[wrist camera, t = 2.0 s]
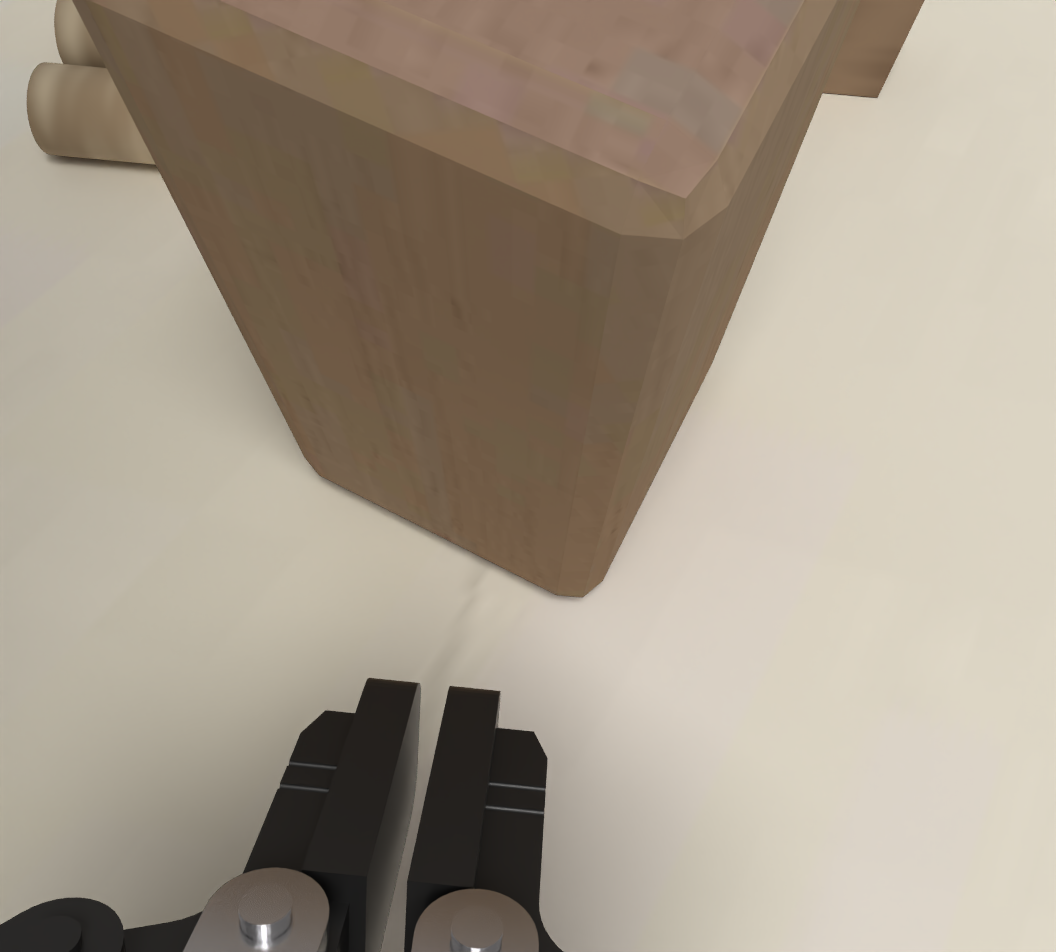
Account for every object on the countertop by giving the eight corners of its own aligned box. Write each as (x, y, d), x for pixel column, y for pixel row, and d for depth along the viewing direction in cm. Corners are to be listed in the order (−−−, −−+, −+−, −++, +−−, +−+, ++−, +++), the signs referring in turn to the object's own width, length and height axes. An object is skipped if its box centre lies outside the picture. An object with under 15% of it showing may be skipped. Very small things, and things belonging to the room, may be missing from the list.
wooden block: (452, 232, 35) (385, -500, 16) (718, 353, 33) (987, -299, 14) (297, 472, 31) (-13, -94, 13) (585, 618, 30) (710, 218, 11)
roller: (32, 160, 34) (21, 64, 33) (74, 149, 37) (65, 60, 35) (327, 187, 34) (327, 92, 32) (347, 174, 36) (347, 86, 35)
